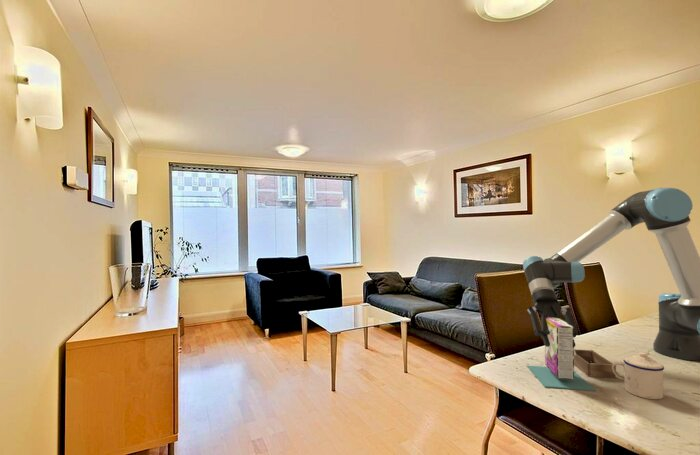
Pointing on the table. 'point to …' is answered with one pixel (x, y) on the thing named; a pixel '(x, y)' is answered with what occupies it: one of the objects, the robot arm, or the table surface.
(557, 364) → the candy bar box
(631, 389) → the teacup with lid
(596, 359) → the walnut sleeve
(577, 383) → the rubber mat
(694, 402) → the table surface
